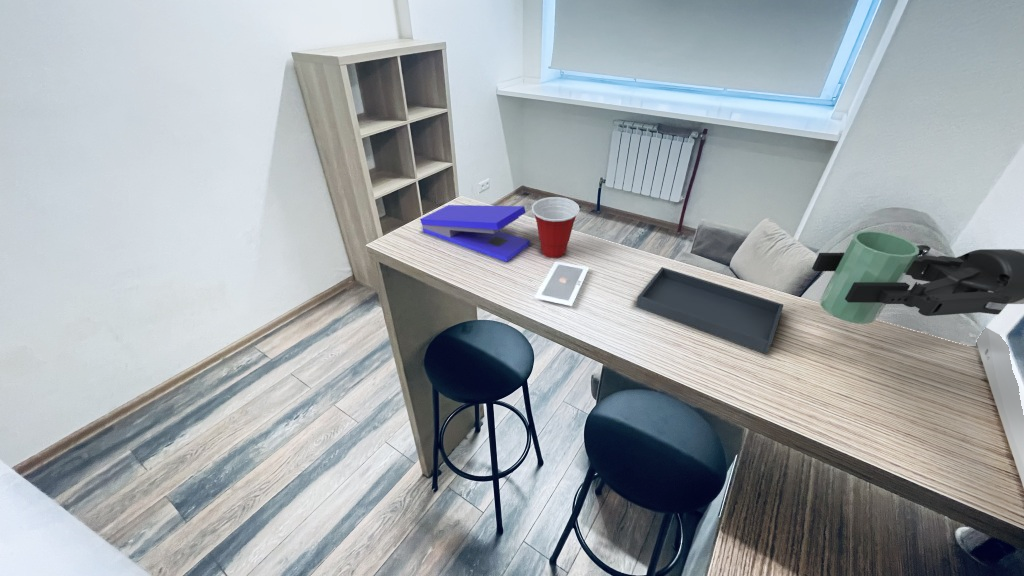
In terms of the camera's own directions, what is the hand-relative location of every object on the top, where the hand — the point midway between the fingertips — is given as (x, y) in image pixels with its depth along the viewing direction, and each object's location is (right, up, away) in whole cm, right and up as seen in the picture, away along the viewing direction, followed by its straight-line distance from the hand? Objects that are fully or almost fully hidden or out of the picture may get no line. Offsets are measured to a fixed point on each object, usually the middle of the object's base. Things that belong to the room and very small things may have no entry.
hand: (833, 276), depth 56 cm
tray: (-7, -6, +23) cm, 25 cm away
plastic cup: (-35, +7, +42) cm, 55 cm away
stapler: (-54, +11, +49) cm, 74 cm away
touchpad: (-34, -1, +31) cm, 46 cm away
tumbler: (+5, -5, +3) cm, 7 cm away
